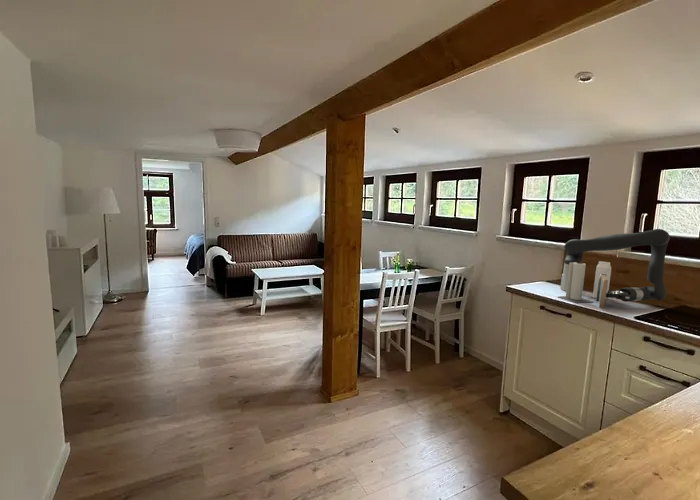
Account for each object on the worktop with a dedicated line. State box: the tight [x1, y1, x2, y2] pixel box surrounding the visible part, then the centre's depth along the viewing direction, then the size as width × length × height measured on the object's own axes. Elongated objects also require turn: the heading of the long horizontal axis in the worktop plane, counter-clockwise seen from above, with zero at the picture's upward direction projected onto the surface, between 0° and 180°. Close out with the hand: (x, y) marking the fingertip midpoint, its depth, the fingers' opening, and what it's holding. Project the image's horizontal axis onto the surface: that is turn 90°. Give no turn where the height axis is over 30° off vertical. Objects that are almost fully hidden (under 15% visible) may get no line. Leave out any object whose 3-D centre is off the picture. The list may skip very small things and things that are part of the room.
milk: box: [592, 260, 612, 299], centre depth 224 cm, size 6×6×22 cm
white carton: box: [565, 262, 587, 300], centre depth 218 cm, size 7×6×21 cm
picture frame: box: [598, 275, 608, 309], centre depth 206 cm, size 18×2×15 cm, turn 150°
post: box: [595, 274, 606, 303], centre depth 216 cm, size 3×3×16 cm
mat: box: [557, 295, 594, 304], centre depth 219 cm, size 13×13×1 cm
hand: (605, 295), depth 202 cm, fingers closed
